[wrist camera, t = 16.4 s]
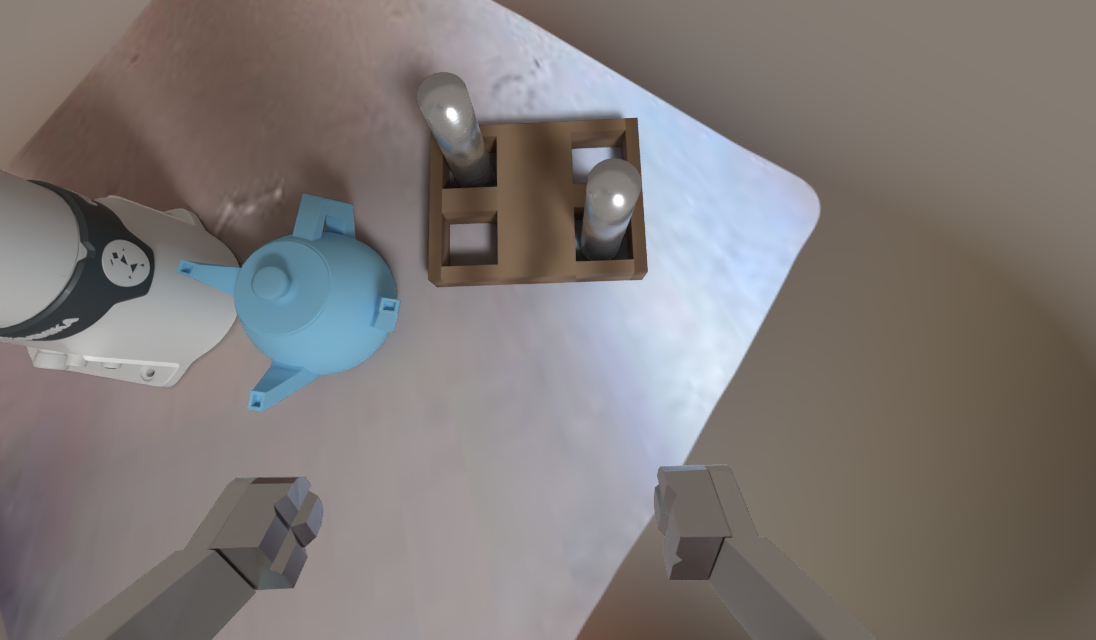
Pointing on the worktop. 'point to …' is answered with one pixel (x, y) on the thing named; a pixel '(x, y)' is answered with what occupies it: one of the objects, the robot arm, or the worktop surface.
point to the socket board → (532, 206)
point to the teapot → (308, 299)
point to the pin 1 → (455, 128)
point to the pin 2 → (608, 207)
